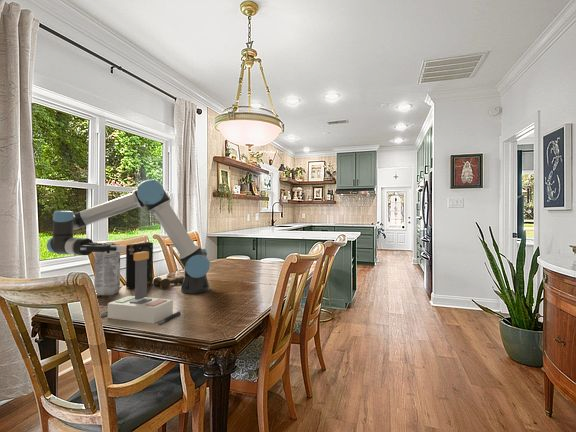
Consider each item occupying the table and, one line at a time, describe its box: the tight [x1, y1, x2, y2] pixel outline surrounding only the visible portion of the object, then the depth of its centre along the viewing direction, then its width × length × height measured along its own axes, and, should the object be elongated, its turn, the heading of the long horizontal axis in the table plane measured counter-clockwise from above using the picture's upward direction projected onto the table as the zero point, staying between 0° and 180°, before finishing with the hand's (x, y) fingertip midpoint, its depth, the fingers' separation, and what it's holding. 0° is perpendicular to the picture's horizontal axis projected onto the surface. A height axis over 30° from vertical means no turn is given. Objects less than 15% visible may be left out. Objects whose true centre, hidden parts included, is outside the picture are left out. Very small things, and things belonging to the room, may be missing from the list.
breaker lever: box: [134, 251, 149, 300], centre depth 130 cm, size 2×6×19 cm, turn 165°
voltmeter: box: [125, 241, 154, 289], centre depth 182 cm, size 16×9×25 cm, turn 168°
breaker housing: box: [107, 295, 174, 324], centre depth 130 cm, size 22×12×7 cm, turn 75°
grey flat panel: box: [100, 310, 181, 326], centre depth 131 cm, size 29×13×1 cm, turn 75°
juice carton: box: [93, 241, 121, 296], centre depth 164 cm, size 9×10×27 cm
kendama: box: [149, 275, 185, 290], centre depth 182 cm, size 6×10×20 cm
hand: (124, 249), depth 132 cm, fingers closed
